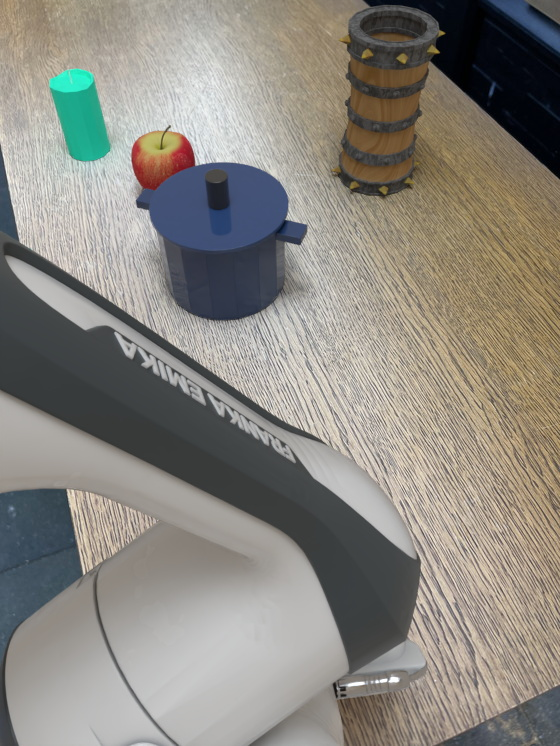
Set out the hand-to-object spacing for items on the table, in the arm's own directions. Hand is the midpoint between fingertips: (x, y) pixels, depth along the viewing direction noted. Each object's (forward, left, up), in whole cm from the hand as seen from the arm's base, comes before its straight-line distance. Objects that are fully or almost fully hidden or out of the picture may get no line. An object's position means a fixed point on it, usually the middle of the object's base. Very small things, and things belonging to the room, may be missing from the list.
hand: (252, 593), depth 51 cm
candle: (+40, +59, -5) cm, 72 cm away
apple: (+39, +43, -5) cm, 59 cm away
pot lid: (+30, +26, +6) cm, 40 cm away
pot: (+30, +26, -4) cm, 40 cm away
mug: (+60, +23, -5) cm, 65 cm away
